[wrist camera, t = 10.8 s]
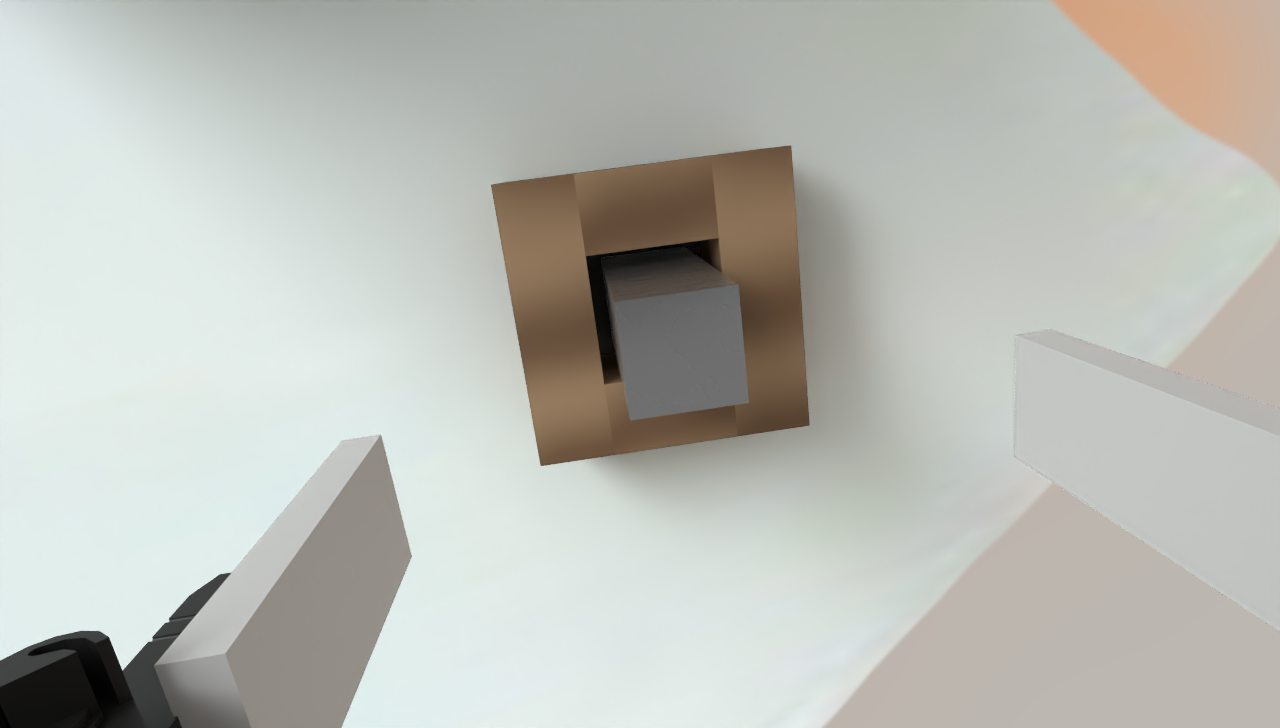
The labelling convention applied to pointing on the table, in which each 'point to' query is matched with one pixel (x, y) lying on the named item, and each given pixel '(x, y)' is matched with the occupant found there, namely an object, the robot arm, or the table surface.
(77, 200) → the table surface
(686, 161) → the brown square hole block
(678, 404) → the metal peg
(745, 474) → the table surface
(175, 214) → the table surface
